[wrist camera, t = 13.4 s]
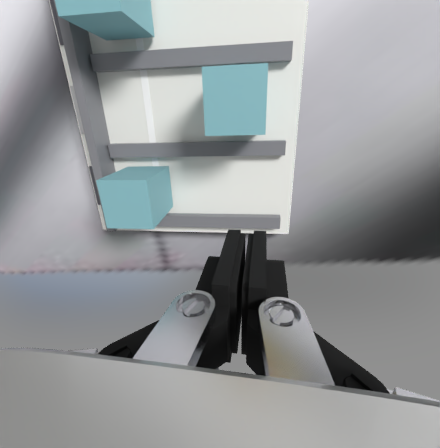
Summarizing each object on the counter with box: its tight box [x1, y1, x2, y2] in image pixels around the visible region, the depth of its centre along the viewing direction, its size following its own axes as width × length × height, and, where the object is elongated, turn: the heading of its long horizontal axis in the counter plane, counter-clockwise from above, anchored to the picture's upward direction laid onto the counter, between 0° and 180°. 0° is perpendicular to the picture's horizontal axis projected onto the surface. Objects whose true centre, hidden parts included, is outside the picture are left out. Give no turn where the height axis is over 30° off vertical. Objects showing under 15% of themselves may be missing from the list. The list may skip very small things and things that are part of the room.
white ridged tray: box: [49, 0, 309, 234], centre depth 22 cm, size 20×24×4 cm
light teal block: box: [202, 63, 268, 136], centre depth 18 cm, size 4×4×6 cm
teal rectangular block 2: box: [96, 166, 173, 229], centre depth 22 cm, size 4×4×6 cm
